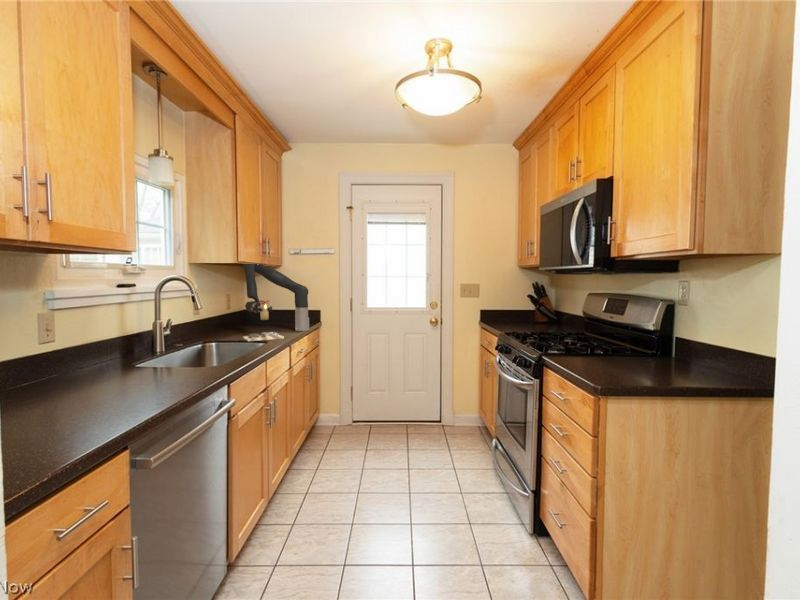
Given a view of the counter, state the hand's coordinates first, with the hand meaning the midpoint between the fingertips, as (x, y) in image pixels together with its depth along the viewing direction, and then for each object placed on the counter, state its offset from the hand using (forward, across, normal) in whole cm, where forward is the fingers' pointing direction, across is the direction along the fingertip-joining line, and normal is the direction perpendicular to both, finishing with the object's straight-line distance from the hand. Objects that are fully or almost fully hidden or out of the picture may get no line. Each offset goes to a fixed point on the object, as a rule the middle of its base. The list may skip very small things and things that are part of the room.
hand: (265, 309), depth 260 cm
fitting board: (+6, -3, +18) cm, 19 cm away
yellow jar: (-3, 0, +7) cm, 7 cm away
